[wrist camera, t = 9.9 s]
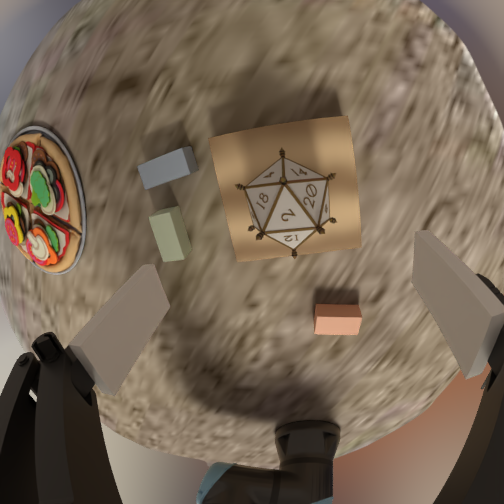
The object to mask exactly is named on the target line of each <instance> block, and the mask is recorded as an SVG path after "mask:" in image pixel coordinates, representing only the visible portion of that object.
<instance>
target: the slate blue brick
mask: <svg viewBox="0 0 504 504" xmlns="http://www.w3.org/2000/svg"><path fill="white" fill-rule="evenodd" d="M137 167H138V170H139V173H140V176H141V179H142V182H143V185H144V188H145V190H147V189H149V188H152V187H155V186H157V185H160V184H163V183H166V182H168V181H171V180H174V179H177V178H180V177H183V176H186V175H189V174H191V173H193V172H195V171H198V170H199V169H198V166H197V163H196V160H195V157H194V154H193V151H192V147H191V146H189V147H184V148H180V149H178V150H175V151H172V152H170V153H167V154H165V155H162V156H160V157H157V158H155V159H153V160H150V161H148V162H145V163H143V164H141V165H139V166H137Z"/></svg>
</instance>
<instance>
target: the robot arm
mask: <svg viewBox="0 0 504 504" xmlns="http://www.w3.org/2000/svg"><path fill="white" fill-rule="evenodd" d="M412 284H413V285H414V287H415V288H416V290H417V291H418V293H419V295H420V296H421V298H422V299H423V301H424V303H425V304H426V306H427V308H428V309H429V311H430V313H431V314H432V316H433V318H434V319H435V321H436V323H437V325H438V326H439V328H440V330H441V332H442V334H443V335H444V337H445V339H446V341H447V343H448V345H449V347H450V348H451V350H452V352H453V354H454V356H455V358H456V360H457V362H458V364H459V366H460V368H461V371H462V373H463V375H464V377H465V379H468V378H471V377H473V376H476V375H479V374H481V373H482V372H483V370H484V368H485V366H486V364H487V362H488V363H489V365H490V366H491V368H492V369H491V371H490V373H489V374H488V376H487V378H486V380H485V382H484V383H483V385H482V387H481V389H483V388H484V387H485V389H484V392H483V396H482V399H481V403H480V406H479V409H478V411H477V414H476V417H475V420H474V423H473V425H472V428H471V431H470V433H469V435H468V438H467V440H466V443H465V445H464V447H463V450H462V452H461V454H460V456H459V458H458V460H457V462H456V464H455V466H454V468H453V470H452V472H451V474H450V476H449V478H448V479H447V481H446V483H445V485H444V486H443V488H442V490H441V492H440V493H439V495H438V496H437V498H436V500H435V501H434V503H433V504H504V295H503V294H502V293H500V291H499V290H498V289H497V288H495V286H494V285H493V283H492V282H491V281H490V280H489V279H487V278H486V277H484V276H482V275H480V274H479V273H478V274H475V273H474V272H473V271H472V270H471V269H470V268H469V267H468V266H467V265H466V264H465V263H464V262H463V261H462V260H461V259H460V258H459V257H458V256H457V255H455V254H454V253H453V252H452V251H451V250H450V249H449V248H448V247H447V246H446V245H445V244H444V243H443V242H441V241H440V240H439V239H438V238H437V237H436V236H435V235H434V234H432V233H431V232H430V231H429V230H423V231H415V242H414V260H413V273H412ZM169 308H170V304H169V302H168V299H167V297H166V294H165V292H164V289H163V287H162V284H161V281H160V279H159V276H158V273H157V270H156V268H155V265H154V264H147V265H142V266H141V267H140V268H139V269H138V270H137V271H136V272H135V273H134V274H133V275H132V276H131V277H130V278H129V279H128V280H127V281H126V282H125V283H124V284H123V285H122V286H121V287H120V288H119V289H118V291H117V292H116V293H115V294H114V295H113V296H112V297H111V298H110V299H109V300H108V301H107V302H106V303H105V304H104V305H103V306H102V307H101V308H100V310H99V311H98V312H97V313H96V314H95V315H94V316H93V317H92V318H91V319H90V321H89V322H88V323H87V324H86V325H85V326H84V327H83V328H82V329H81V331H80V332H79V333H78V334H77V335H76V336H75V337H74V339H73V340H72V341H71V342H70V343H69V344H68V346H67V348H66V349H65V350H64V348H63V347H62V345H61V344H60V342H59V340H58V339H57V337H56V335H55V334H54V333H53V332H47V333H44V334H42V335H41V336H39V337H38V338H37V339H36V340H35V341H34V342H33V344H32V346H31V347H32V348H33V350H34V351H35V353H36V354H37V356H38V357H39V359H40V361H38V360H37V358H36V357H35V355H34V354H33V353H32V352H27V353H24V354H22V355H21V356H20V357H19V358H18V359H17V361H16V363H15V365H14V367H13V369H12V371H11V373H10V375H9V377H8V379H7V382H6V384H5V386H4V389H3V391H2V393H1V396H0V504H123V503H122V500H121V498H120V495H119V492H118V489H117V486H116V482H115V479H114V476H113V473H112V470H111V466H110V462H109V458H108V454H107V450H106V446H105V442H104V437H103V432H102V428H101V422H100V417H99V411H98V405H97V398H96V393H95V391H94V390H93V389H92V388H93V386H94V385H95V384H96V385H97V386H98V388H99V389H100V390H101V392H102V393H105V394H109V395H113V396H115V395H116V393H117V392H118V390H119V388H120V387H121V385H122V383H123V382H124V380H125V378H126V377H127V375H128V373H129V372H130V370H131V368H132V367H133V365H134V363H135V362H136V360H137V359H138V357H139V355H140V354H141V352H142V351H143V349H144V347H145V346H146V344H147V343H148V341H149V339H150V338H151V336H152V335H153V333H154V331H155V330H156V328H157V327H158V325H159V324H160V322H161V321H162V319H163V317H164V316H165V314H166V313H167V311H168V310H169ZM30 389H31V390H32V391H33V392H34V394H35V395H36V396H37V402H35V401H34V399H33V398H32V397H31V396H30V395H29V392H30ZM339 442H340V429H339V428H338V427H337V426H336V425H334V424H331V423H328V422H323V421H300V422H294V423H290V424H287V425H284V426H282V427H280V428H279V429H278V430H277V431H276V435H275V444H276V448H277V452H278V455H279V459H280V468H279V470H275V469H266V468H258V467H251V466H244V465H238V464H236V463H233V464H231V463H224V462H216V463H214V464H213V465H212V466H211V467H210V468H209V469H208V471H207V472H206V474H205V476H204V478H203V480H202V482H201V485H200V488H199V491H198V494H197V497H196V502H197V504H332V499H333V459H334V456H335V453H336V450H337V447H338V445H339Z"/></svg>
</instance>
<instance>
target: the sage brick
mask: <svg viewBox="0 0 504 504" xmlns="http://www.w3.org/2000/svg"><path fill="white" fill-rule="evenodd" d="M148 218H149V221H150V224H151V227H152V230H153V233H154V236H155V239H156V242H157V245H158V248H159V251H160V253H161V256H162V259H163V262H169V261H176V260H184V259H185V258H186V257H187V256H188V254H189V253H190V252H191V250H192V247H191V244H190V241H189V238H188V234H187V231H186V228H185V224H184V221H183V218H182V214H181V211H180V207H179V206H175V207H170V208H166V209H162V210H158V211H157V212H155V213H154V214H152V215H151V216H149V217H148Z"/></svg>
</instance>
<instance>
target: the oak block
mask: <svg viewBox="0 0 504 504" xmlns="http://www.w3.org/2000/svg"><path fill="white" fill-rule="evenodd" d="M208 140H209V144H210V149H211V153H212V158H213V162H214V166H215V171H216V175H217V179H218V184H219V188H220V192H221V197H222V201H223V205H224V209H225V214H226V218H227V222H228V226H229V230H230V234H231V239H232V243H233V247H234V251H235V255H236V259H237V262H243V261H252V260H260V259H269V258H278V257H286V256H291V255H292V249H290V248H288V247H286V246H284V245H282V244H280V243H278V242H276V241H274V240H272V239H271V238H269V237H267V236H265V235H264V236H263V237H264V238H262V240H256V235H257V234H258V233H259V231H258V230H257V229H256V228H255V230H253V231H248V228H249V226H251V225H253V223H252V219H251V215H250V212H249V208H248V204H247V200H246V197H245V193H244V190H240V189H238V190H237V188H236V187H235V184H239V183H240V184H243V186H246V185H247V184H249V183H250V182H251V181H252V180H253V179H255V178H256V177H257V176H258V175H260V174H261V173H262V172H263V171H265V170H266V169H267V168H268V167H270V166H271V165H272V164H273V163H275V162H276V161H277V160H279V159H280V158H281V156H280V155H279V154H280V153H279V151H280V149H281V147H282V148H283V150H284V151H285V158H288V159H290V160H292V161H294V162H296V163H298V164H301V165H303V166H305V167H307V168H309V169H311V170H313V171H315V172H317V173H319V174H321V175H323V176H325V177H327V176H328V175H329V174H331V173H336V176H335V179H332V180H329V199H330V218H332V217H333V218H335V219H336V221H337V223H334V224H333V223H331V222H330V221H328V222H327V223H326V224H325V225H324V226H322V228H324V229H325V234H319V233H318V232H316V233H314V234H313V235H312V236H311V237H310V238H309V239H307V240H306V241H305V242H304V243H303V244H302V245H300V246H299V247H298V248H297V249H296V252H297V255H303V254H311V253H320V252H328V251H336V250H344V249H353V248H361V225H360V209H359V196H358V186H357V176H356V167H355V159H354V151H353V144H352V138H351V131H350V125H349V119H348V116H337V117H327V118H318V119H309V120H301V121H294V122H287V123H281V124H275V125H269V126H263V127H258V128H252V129H247V130H242V131H238V132H233V133H228V134H224V135H220V136H216V137H211V138H208Z"/></svg>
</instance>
